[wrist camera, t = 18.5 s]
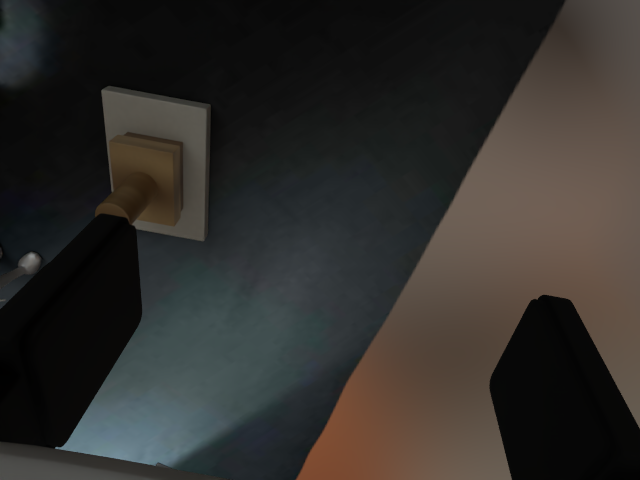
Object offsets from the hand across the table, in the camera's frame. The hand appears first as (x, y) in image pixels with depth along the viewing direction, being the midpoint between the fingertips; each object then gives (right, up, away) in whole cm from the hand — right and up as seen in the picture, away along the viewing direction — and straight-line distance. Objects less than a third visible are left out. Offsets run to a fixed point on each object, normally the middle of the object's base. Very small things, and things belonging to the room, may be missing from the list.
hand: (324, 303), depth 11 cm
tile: (-13, +8, +28) cm, 32 cm away
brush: (-13, +7, +27) cm, 31 cm away
